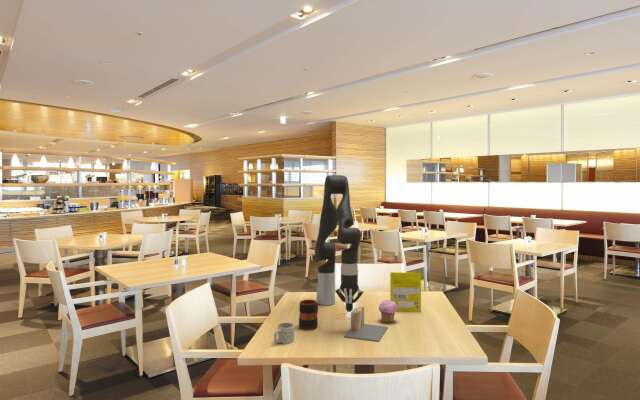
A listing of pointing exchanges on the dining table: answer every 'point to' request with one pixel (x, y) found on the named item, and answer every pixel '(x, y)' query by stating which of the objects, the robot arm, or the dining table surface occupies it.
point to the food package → (406, 291)
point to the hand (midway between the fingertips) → (349, 311)
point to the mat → (367, 332)
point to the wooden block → (357, 318)
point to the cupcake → (388, 310)
